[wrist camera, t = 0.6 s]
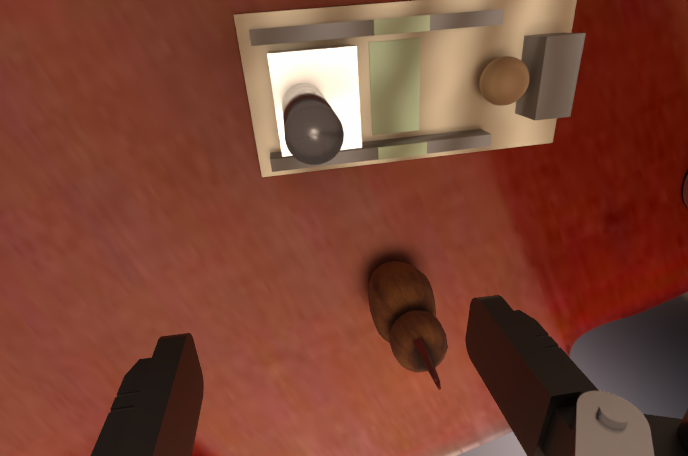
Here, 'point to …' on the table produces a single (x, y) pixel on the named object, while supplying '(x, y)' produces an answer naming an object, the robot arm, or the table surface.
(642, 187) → the table surface
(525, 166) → the table surface
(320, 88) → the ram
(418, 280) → the wooden figurine
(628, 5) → the table surface
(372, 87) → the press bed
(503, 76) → the walnut
